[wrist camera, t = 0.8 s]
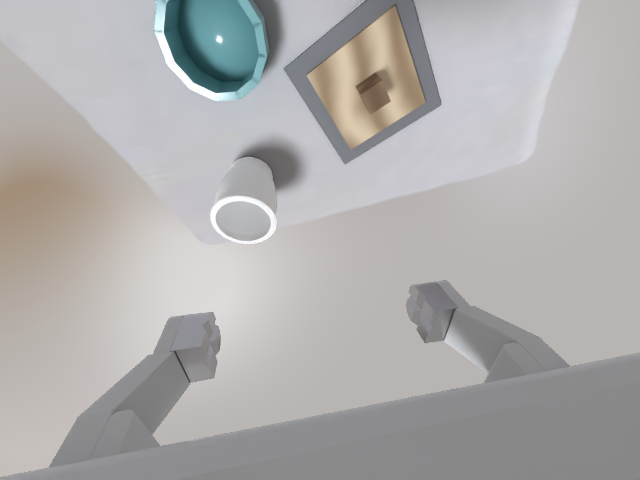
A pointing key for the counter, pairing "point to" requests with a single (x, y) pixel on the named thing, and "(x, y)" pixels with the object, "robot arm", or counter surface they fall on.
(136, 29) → the counter surface
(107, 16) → the counter surface
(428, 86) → the mat
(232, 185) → the jar
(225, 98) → the bowl
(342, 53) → the lid
